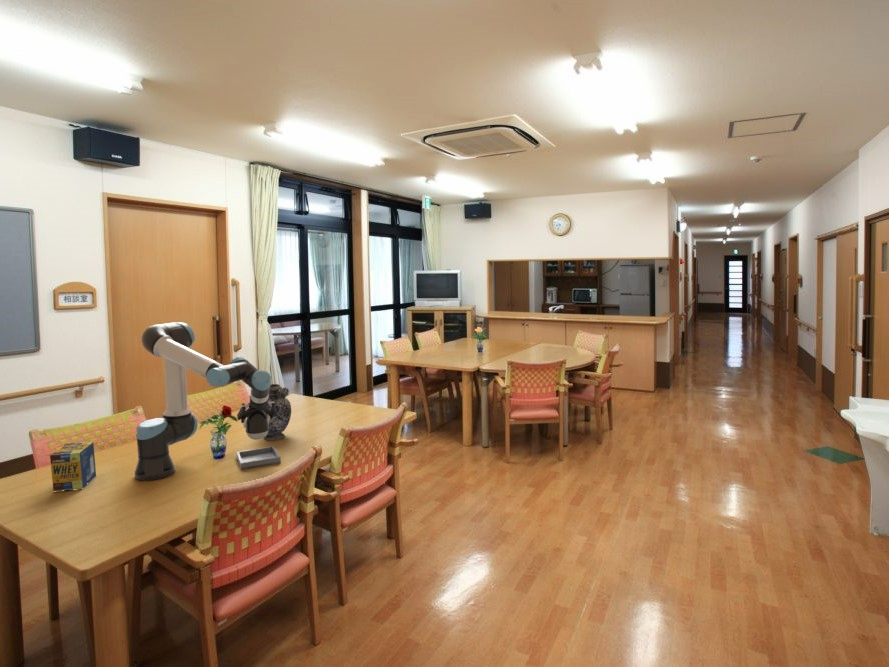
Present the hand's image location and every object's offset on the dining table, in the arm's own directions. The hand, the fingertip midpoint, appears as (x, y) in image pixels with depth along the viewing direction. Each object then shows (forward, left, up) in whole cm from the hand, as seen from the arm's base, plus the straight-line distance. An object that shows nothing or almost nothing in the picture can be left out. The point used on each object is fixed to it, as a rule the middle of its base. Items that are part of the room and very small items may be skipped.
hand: (256, 423), depth 244 cm
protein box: (+5, +71, -17) cm, 73 cm away
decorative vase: (+30, -13, -17) cm, 37 cm away
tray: (-3, 0, -17) cm, 17 cm away
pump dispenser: (-3, 0, -6) cm, 7 cm away
